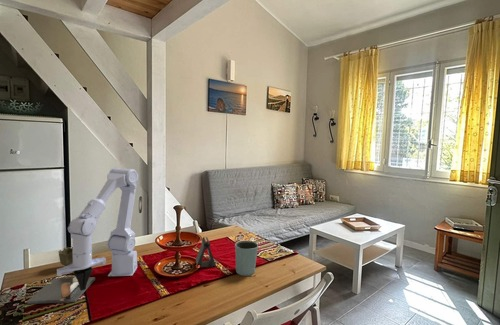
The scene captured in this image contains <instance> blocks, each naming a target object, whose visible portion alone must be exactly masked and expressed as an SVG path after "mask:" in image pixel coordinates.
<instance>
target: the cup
mask: <svg viewBox="0 0 500 325" xmlns="http://www.w3.org/2000/svg"><path fill="white" fill-rule="evenodd" d="M57 252H58V258H59V262H60V264H61V265H62V266H63V267H65V266H68V265H70V264H73V246H71V247H70V246H67V247H64V248H63V250H61V249H60V250H59V251H57Z"/></svg>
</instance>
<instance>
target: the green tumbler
mask: <svg viewBox="0 0 500 325" xmlns="http://www.w3.org/2000/svg"><path fill="white" fill-rule="evenodd" d="M234 248H235V272H236V274H238V275H240V276H252V275H254V274H255V272H256V266H257V265H256V263H257V256H258V249H259V244H258V243H257V242H254V241H251V240H241V241H240V240H239V241H237V242H235V244H234Z"/></svg>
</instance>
